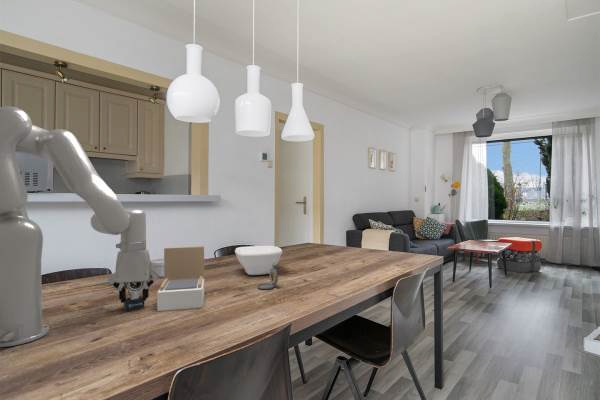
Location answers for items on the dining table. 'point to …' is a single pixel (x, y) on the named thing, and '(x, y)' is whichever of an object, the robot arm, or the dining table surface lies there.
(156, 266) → the ramekin
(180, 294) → the open display box
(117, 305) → the dining table surface
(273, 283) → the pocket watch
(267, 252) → the bowl
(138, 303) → the watch
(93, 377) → the dining table surface
